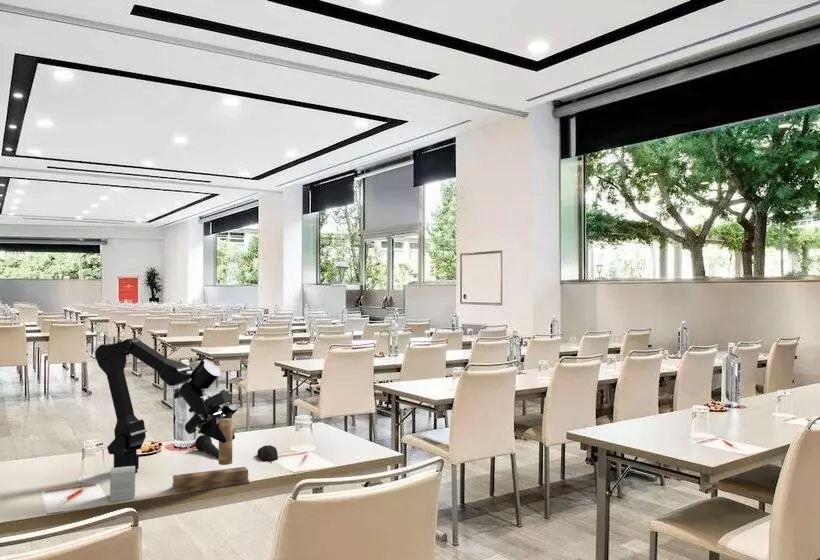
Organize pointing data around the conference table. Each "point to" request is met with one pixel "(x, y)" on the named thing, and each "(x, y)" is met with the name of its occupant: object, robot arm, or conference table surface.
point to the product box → (122, 483)
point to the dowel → (226, 447)
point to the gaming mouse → (267, 453)
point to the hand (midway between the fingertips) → (229, 440)
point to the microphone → (206, 445)
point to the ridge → (210, 479)
